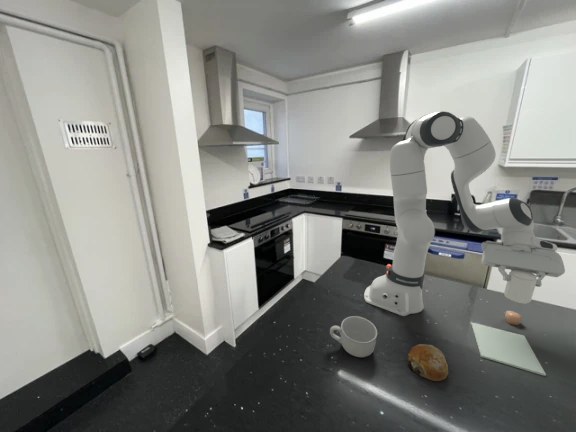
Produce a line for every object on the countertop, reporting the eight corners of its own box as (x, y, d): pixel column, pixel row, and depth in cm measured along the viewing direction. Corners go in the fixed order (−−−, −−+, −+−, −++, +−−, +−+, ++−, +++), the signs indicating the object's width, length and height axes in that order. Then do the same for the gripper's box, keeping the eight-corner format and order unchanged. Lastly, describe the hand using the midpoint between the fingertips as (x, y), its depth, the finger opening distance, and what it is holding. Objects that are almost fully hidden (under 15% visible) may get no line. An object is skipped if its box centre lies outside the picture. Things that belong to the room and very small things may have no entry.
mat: (481, 356, 72) (481, 355, 71) (471, 323, 85) (471, 322, 85) (545, 376, 65) (545, 374, 65) (523, 337, 79) (524, 335, 79)
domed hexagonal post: (507, 300, 78) (514, 275, 76) (502, 291, 84) (508, 267, 81) (532, 305, 76) (540, 280, 73) (525, 295, 81) (532, 271, 79)
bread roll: (444, 395, 64) (463, 376, 62) (408, 376, 65) (426, 356, 62) (430, 364, 74) (446, 346, 71) (400, 348, 74) (414, 330, 72)
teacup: (375, 340, 78) (377, 319, 76) (375, 368, 68) (377, 344, 66) (332, 331, 83) (333, 311, 81) (327, 355, 73) (327, 333, 71)
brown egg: (506, 323, 85) (508, 315, 84) (502, 316, 89) (504, 309, 88) (521, 326, 83) (523, 319, 83) (517, 319, 87) (519, 312, 86)
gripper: (483, 236, 86) (484, 272, 80) (564, 246, 77) (571, 288, 71) (478, 243, 91) (479, 278, 85) (553, 253, 82) (559, 293, 76)
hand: (521, 283), depth 78 cm, fingers closed on domed hexagonal post, 6 cm apart
